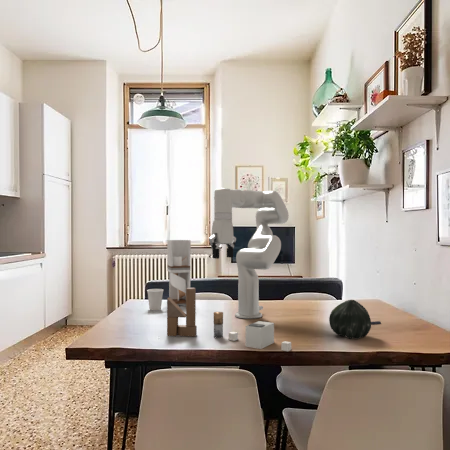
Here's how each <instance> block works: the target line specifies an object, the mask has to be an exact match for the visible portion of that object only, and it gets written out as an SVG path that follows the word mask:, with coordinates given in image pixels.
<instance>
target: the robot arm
mask: <svg viewBox="0 0 450 450" xmlns="http://www.w3.org/2000/svg"><path fill="white" fill-rule="evenodd" d="M213 193H214V194H213V195H214V197H213V198H214V199H213V201H214V203H213V204H214V207H213V209H214V210H213V211H214V213H213V214H214V215H213V218H214V220H213V221H212V226H211V236H210V237H209V238H208V240H209V241H208V242H209V245H210V248H211V249H212V250H211V251H212V259H218V260H219V259H220V245H226V247H227V248H226V258H230V259H231V258H234V248H235V245H236V241H237V237H236V236H234V226H233V224H234V223H233V208H235V209H237V208H238V209H257V211H256V213H255V224H256V230H255V232H254V233H253V235H251V238H250V239H249V241H248V244H247V248H246V247H245V248H241V249H239V250H238V251H237V252H236V255H235V256H236V257H235V261H236V266H237V275H238V283H237V285H238V286H237V287H238V290H237V291H238V292H237V293H238V295H237V296H238V297H237V298H238V299H237V303H238V305H237V306H238V307H237V308H238V311H237V312H235V313H234V316H235V318H239V319H247V320H249V319H251V320H252V319H260V318H262V317H263V313H261V312H260V311H262V310H264V306H263V305H260V303H259V300H260V297H259V296H260V295H259V291H260V290H259V286H260V285H259V283H260V281H259V280H260V279H259V275H258V273H257V271H256V270H263V271H264V270H269V269H271V268H272V266H273V265H274V263H275V261H276V259H277V258H278V256H279V254H280V252H281V249H282V241H281V239H280V237H278V236H277V235H274V234H273V231H272V229H271V227H270V226H269V225H282V224H285V223H287V222H288V221H289V217H290V216H289V211H288V208H287V205H286V204H285V202H284V200H283V198H282V197H281V195H280V193H279V192H278V191H277V190H265V191H264V190H251V189H245V190H243V189H231V188H227V187H225V188H224V187H221V188H220V187H219V188H216V189H215V190H214V192H213Z"/></svg>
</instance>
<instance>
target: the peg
mask: <svg viewBox="0 0 450 450" xmlns="http://www.w3.org/2000/svg"><path fill="white" fill-rule="evenodd" d="M223 325H224V312H223V311H214V312H213V337H214V338H215V337H216V338H217V339H218V338H219V339H220V338H221V337H222V338H223V337H224V326H223Z"/></svg>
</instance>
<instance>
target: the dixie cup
mask: <svg viewBox="0 0 450 450" xmlns="http://www.w3.org/2000/svg"><path fill="white" fill-rule="evenodd" d="M146 292H147V299H148V307H149V311H152V312H153V311H155V312H157V311H161V310H162V303H163V297H164V296H163V293H164V289H162V288H149V289H147V290H146Z"/></svg>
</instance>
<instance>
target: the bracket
mask: <svg viewBox="0 0 450 450" xmlns="http://www.w3.org/2000/svg"><path fill="white" fill-rule="evenodd" d="M381 322H382V321H381V320H378V321H371V326H373V325H374V326H375V325H382V323H381Z"/></svg>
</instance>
